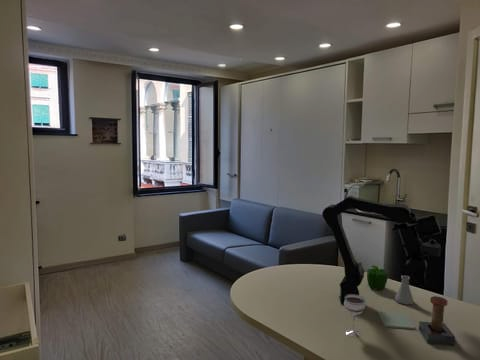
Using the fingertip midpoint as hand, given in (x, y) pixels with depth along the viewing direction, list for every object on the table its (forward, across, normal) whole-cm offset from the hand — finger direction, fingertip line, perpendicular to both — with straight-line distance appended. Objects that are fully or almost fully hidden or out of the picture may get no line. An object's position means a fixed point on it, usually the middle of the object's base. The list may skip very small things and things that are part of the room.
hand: (424, 280), depth 128 cm
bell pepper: (+7, +19, +22) cm, 30 cm away
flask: (+11, +11, +11) cm, 19 cm away
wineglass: (+6, -22, +24) cm, 33 cm away
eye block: (+15, -12, +1) cm, 19 cm away
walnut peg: (+15, -12, +1) cm, 19 cm away
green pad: (+10, -7, +12) cm, 18 cm away
